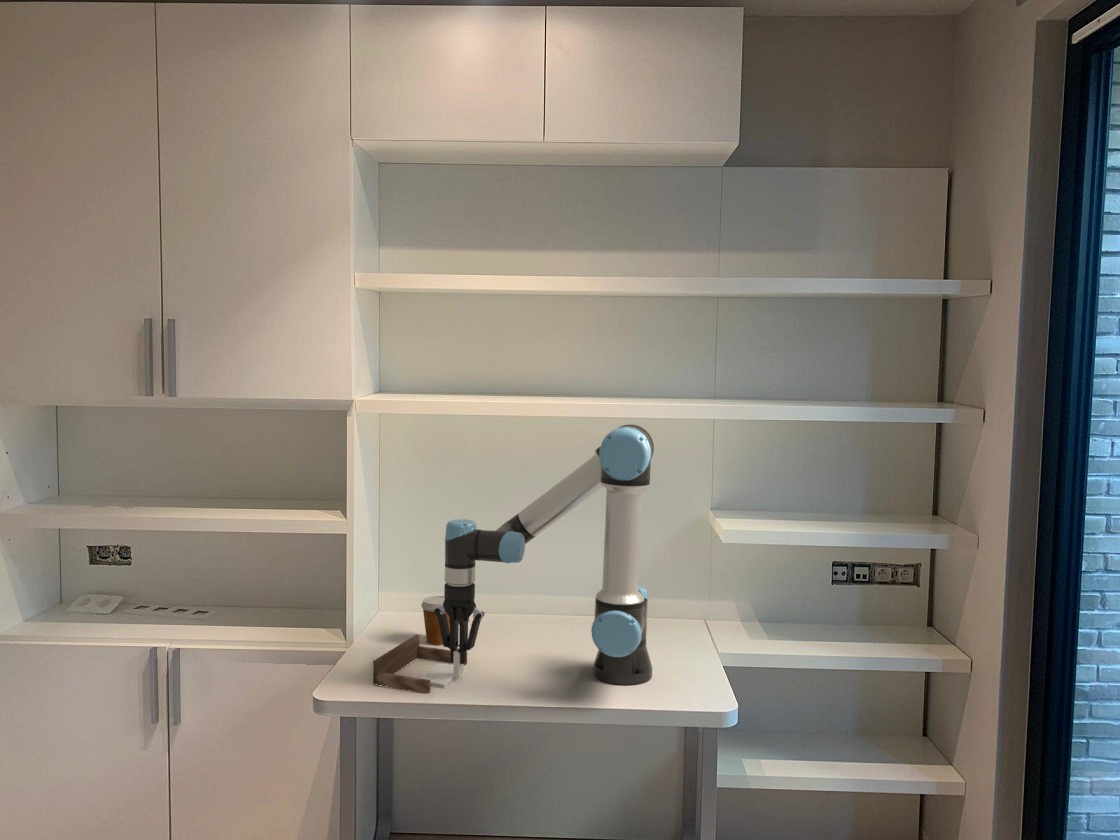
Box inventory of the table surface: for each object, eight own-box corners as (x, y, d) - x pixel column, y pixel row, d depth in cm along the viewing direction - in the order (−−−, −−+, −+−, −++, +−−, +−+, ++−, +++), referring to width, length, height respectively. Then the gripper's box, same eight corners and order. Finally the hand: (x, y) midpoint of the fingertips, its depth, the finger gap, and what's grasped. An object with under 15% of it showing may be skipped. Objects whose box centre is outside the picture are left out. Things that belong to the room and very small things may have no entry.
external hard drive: (465, 673, 222) (444, 690, 210) (436, 669, 224) (413, 685, 213) (465, 667, 222) (444, 683, 210) (436, 662, 224) (413, 679, 212)
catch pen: (467, 663, 227) (467, 641, 227) (428, 693, 206) (428, 669, 206) (416, 656, 232) (416, 634, 232) (373, 684, 211) (373, 660, 211)
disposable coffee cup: (422, 648, 238) (423, 605, 238) (419, 637, 248) (419, 596, 247) (457, 646, 241) (457, 603, 240) (452, 635, 250) (452, 594, 249)
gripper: (490, 581, 216) (488, 674, 217) (442, 576, 220) (441, 667, 222) (477, 589, 209) (476, 684, 210) (429, 583, 213) (427, 677, 214)
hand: (458, 675), depth 216 cm, fingers closed
